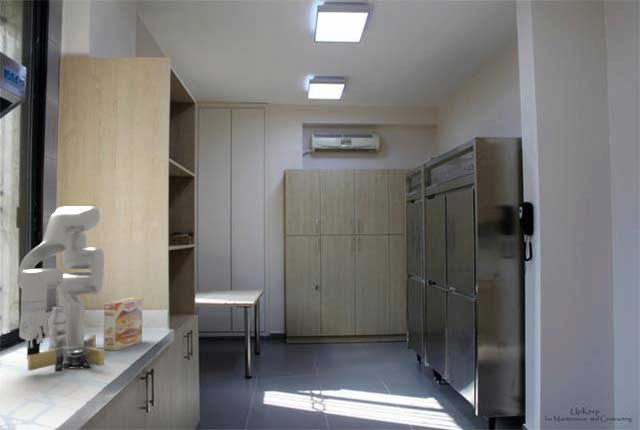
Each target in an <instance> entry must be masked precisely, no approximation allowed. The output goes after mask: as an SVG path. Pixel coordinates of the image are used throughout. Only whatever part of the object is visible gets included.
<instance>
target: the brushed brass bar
mask: <svg viewBox="0 0 640 430" xmlns="http://www.w3.org/2000/svg"><path fill="white" fill-rule="evenodd" d="M62 364H64V361H63V348H56V349H53V350H48V349H47V350H45V351H40V352H39V353H35V354H30V355H28V359H27V371H31V372H32V371H34V370H35V371H36V370H39V369H43V368H47V367H52V366H54V371H55V372H60V371H63V369H62Z"/></svg>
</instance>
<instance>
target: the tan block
mask: <svg viewBox="0 0 640 430" xmlns="http://www.w3.org/2000/svg"><path fill="white" fill-rule="evenodd" d="M82 350H83V356H82V362H83V368H84V369H83V368H82V369H83V370H88V368H89V369H91V365H95V366H98V367H101V366H104V365H105V349H101V348H96V347H95V348H93V347H91V346H85V347H83V348H82Z"/></svg>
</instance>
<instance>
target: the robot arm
mask: <svg viewBox="0 0 640 430" xmlns="http://www.w3.org/2000/svg"><path fill="white" fill-rule="evenodd" d="M100 219H101V214H100V210H99V209H98V208H97V207H96V206H75V205H74V206H72V205H71V206H61V207H58V208H57V209H55V211H54V213H52V214H51V216H49V219H48V223H47V225H46V229H45V233H44V236H43V238H42V241H41V243H40V244H39V245H36V246H35V247H34V248H32V249H31V250H30V251H29V252H28V253H27V254H26V255H25V256H24V257H23V259H22V260H21V263H20V265H19V269H18V272H17V275H16V284H17V286H18V287H19V288H20V289H21V299H20V300H21V301H20V307H21V309H20V311H21V313H20V320H19V330H18V332H19V333H18V335H19V338H21V339H23V340H25V341H26V347H27V351H26V353H27V354H26V357H27V358H26V359H27V360H28V355H30V354H35V353H39V352H41V351H40V347H41V344H42V343H44V339H45V338H46V336H47V329H48V328H47V327H48V325H47V313H46V312H47V311H46V310H47V309H48V289H56V290H57V295H58V306H63V307H64V308H63V310H64V311H63V313H64V314H65V316H66V317H67V326H66V345H67V350H68V351H75V350H79V349H83V347H84V340H85V313H86V312H85V310H86V309H85V302H84V300H83V299H82V297H80V296H81V295H82V296H83V295H95V294H96V295H97V294H99V293H101V292H102V289H103V285H104V270H105V269H104V268H105V255H104V251H103V250H102V249H101V248H100V247H97V246H90V247H89V246H88V247H87V235H86V233H85V232H88V231H89V230H92V229H94V227H96V226H97V225H98V224H99V222H100ZM61 253H62V265H63V267H64V268H65V269H66V270H67V269H68V270H90V271H88V272H85V271H84V272H82V271H79V272H77V271H76V272H65V273H63V272H62V270H60V269H59V268H56V267H54V268H53V267H48V268H47V267H40V268H39V267H36V266H37V264H39V263H40V262H42V261H43V260H46V259H49V258H50V257H54V256H55V255H58V254H61Z"/></svg>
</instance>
